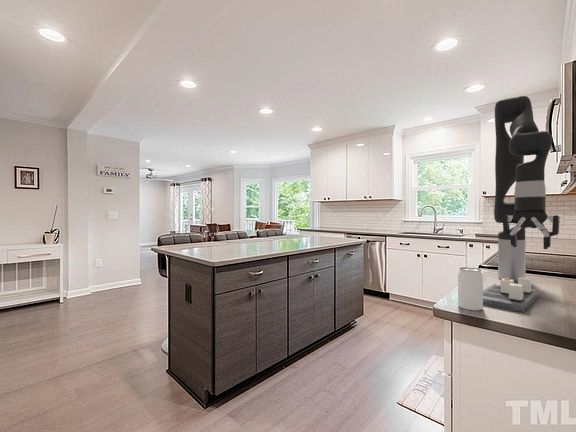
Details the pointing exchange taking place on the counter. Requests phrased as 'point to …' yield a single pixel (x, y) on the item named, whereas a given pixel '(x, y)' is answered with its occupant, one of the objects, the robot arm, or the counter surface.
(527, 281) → the block
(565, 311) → the counter surface
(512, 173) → the robot arm
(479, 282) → the can
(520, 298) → the block
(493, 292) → the panel
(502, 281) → the block
